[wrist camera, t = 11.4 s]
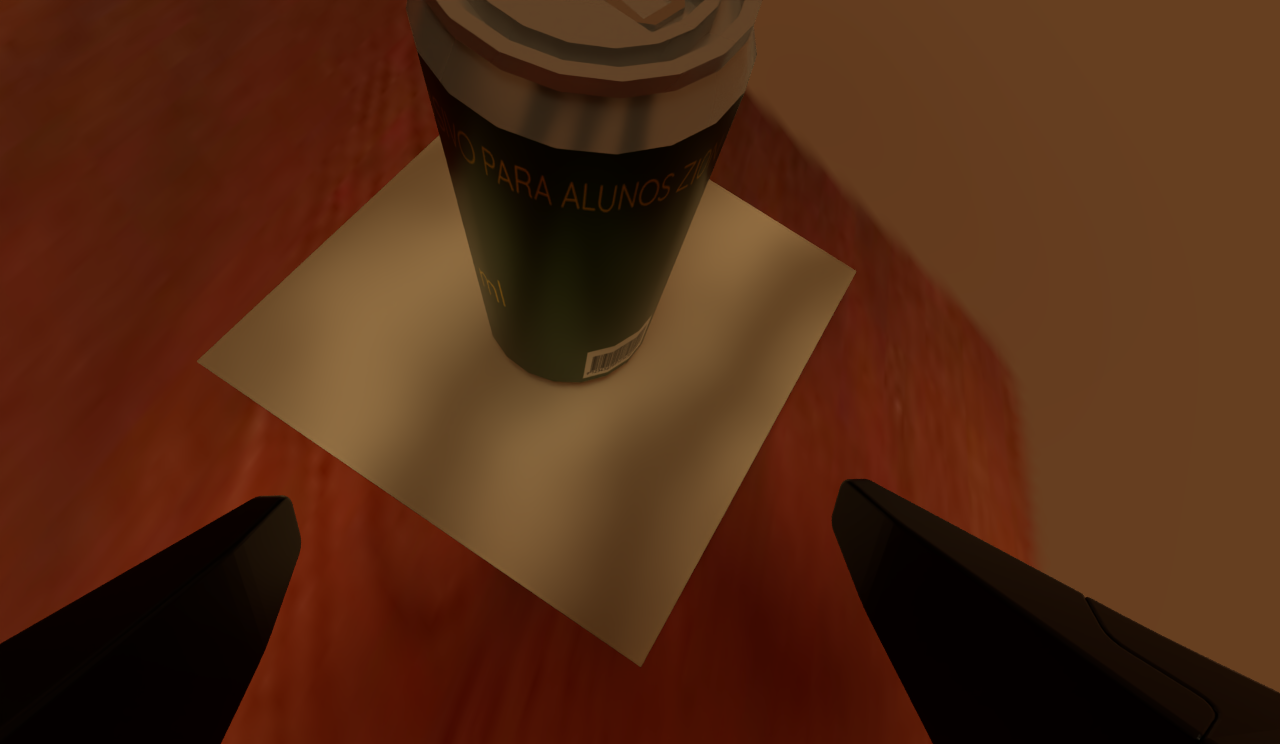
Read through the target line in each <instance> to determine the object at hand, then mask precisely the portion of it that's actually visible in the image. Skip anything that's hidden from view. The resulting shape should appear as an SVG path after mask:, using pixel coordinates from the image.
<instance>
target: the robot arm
mask: <svg viewBox="0 0 1280 744" xmlns="http://www.w3.org/2000/svg"><path fill="white" fill-rule="evenodd" d="M832 527H833V531H834V533H835V536H836V538H837V541H838V544H839V546H840V549H841V551H842V554H843V556H844V559H845V562H846V564H847V567H848V569H849V572H850V574H851V577H852V580H853V582H854V585H855V587H856V590H857V592H858V595H859V597H860V600H861V602H862V604H863V607H864V609H865V611H866V613H867V615H868V617H869V619H870V621H871V623H872V625H873V627H874V629H875V631H876V633H877V635H878V637H879V639H880V641H881V643H882V645H883V647H884V649H885V651H886V653H887V655H888V657H889V659H890V661H891V663H892V665H893V666H894V668H895V670H896V672H897V674H898V676H899V678H900V680H901V682H902V684H903V686H904V688H905V690H906V692H907V694H908V696H909V698H910V700H911V702H912V704H913V706H914V708H915V710H916V712H917V714H918V715H919V717H920V719H921V721H922V723H923V725H924V727H925V729H926V731H927V733H928V735H929V737H930V739H931V741H932V743H933V744H1280V693H1279V692H1277V691H1275V690H1273V689H1271V688H1268V687H1267V686H1265V685H1262V684H1260V683H1258V682H1256V681H1254V680H1252V679H1250V678H1248V677H1246V676H1244V675H1242V674H1240V673H1238V672H1235V671H1233V670H1231V669H1229V668H1227V667H1225V666H1223V665H1221V664H1219V663H1217V662H1215V661H1213V660H1211V659H1208V658H1207V657H1204V656H1202V655H1200V654H1198V653H1196V652H1194V651H1192V650H1190V649H1188V648H1186V647H1184V646H1182V645H1180V644H1178V643H1176V642H1174V641H1172V640H1170V639H1168V638H1166V637H1164V636H1162V635H1160V634H1158V633H1156V632H1154V631H1152V630H1150V629H1148V628H1146V627H1144V626H1142V625H1140V624H1138V623H1137V622H1135V621H1133V620H1131V619H1129V618H1127V617H1125V616H1123V615H1121V614H1119V613H1118V612H1115V611H1114V610H1112V609H1110V608H1108V607H1106V606H1104V605H1103V604H1101V603H1099V602H1097V601H1095V600H1093V599H1091V598H1089V597H1086V598H1085V597H1084V595H1083V594H1081V593H1080V592H1078V591H1076V590H1074V589H1072V588H1071V587H1069V586H1067V585H1065V584H1063V583H1061V582H1059V581H1057V580H1056V579H1054V578H1052V577H1050V576H1048V575H1046V574H1044V573H1042V572H1041V571H1039V570H1037V569H1035V568H1033V567H1031V566H1029V565H1027V564H1026V563H1024V562H1022V561H1020V560H1018V559H1016V558H1014V557H1012V556H1011V555H1009V554H1007V553H1005V552H1003V551H1001V550H999V549H998V548H996V547H994V546H992V545H990V544H988V543H986V542H984V541H983V540H981V539H979V538H977V537H975V536H973V535H971V534H969V533H968V532H966V531H964V530H962V529H960V528H958V527H956V526H954V525H953V524H951V523H949V522H947V521H945V520H943V519H941V518H939V517H938V516H936V515H934V514H932V513H930V512H928V511H926V510H925V509H923V508H921V507H919V506H917V505H915V504H913V503H911V502H910V501H908V500H906V499H904V498H902V497H900V496H898V495H896V494H895V493H893V492H891V491H889V490H887V489H885V488H883V487H881V486H880V485H878V484H876V483H874V482H872V481H870V480H868V479H847V480H845V481H844V482H843V483H842V484H841V486H840V489H839V493H838V496H837V500H836V504H835V507H834V511H833V514H832ZM300 548H301V537H300V532H299V528H298V524H297V520H296V516H295V512H294V508H293V504H292V502H291V500H290V499H289V498H288V497H286V496H283V495H281V496H258V497H255V498H253V499H251V500H250V501H248V502H246V503H244V504H243V505H241V506H239V507H237V508H236V509H234V510H232V511H230V512H229V513H227V514H225V515H223V516H222V517H220V518H218V519H217V520H215V521H213V522H211V523H210V524H208V525H206V526H204V527H203V528H201V529H199V530H197V531H196V532H194V533H192V534H190V535H189V536H187V537H185V538H184V539H182V540H180V541H178V542H177V543H175V544H173V545H171V546H170V547H168V548H166V549H164V550H163V551H161V552H159V553H157V554H156V555H154V556H152V557H150V558H149V559H147V560H145V561H144V562H142V563H140V564H138V565H137V566H135V567H133V568H131V569H130V570H128V571H126V572H124V573H123V574H121V575H119V576H117V577H116V578H114V579H112V580H110V581H109V582H107V583H105V584H104V585H102V586H100V587H98V588H97V589H95V590H93V591H91V592H90V593H88V594H86V595H84V596H83V597H81V598H79V599H77V600H76V601H74V602H72V603H70V604H69V605H67V606H65V607H63V608H62V609H60V610H58V611H57V612H55V613H53V614H51V615H50V616H48V617H46V618H44V619H43V620H41V621H39V622H37V623H36V624H34V625H32V626H30V627H29V628H27V629H25V630H23V631H22V632H20V633H18V634H17V635H15V636H13V637H11V638H10V639H8V640H6V641H4V642H3V643H1V644H0V744H221V742H222V740H223V738H224V736H225V734H226V732H227V730H228V728H229V726H230V724H231V721H232V719H233V717H234V715H235V713H236V711H237V709H238V707H239V705H240V703H241V700H242V698H243V696H244V694H245V692H246V690H247V688H248V686H249V684H250V682H251V680H252V677H253V675H254V673H255V671H256V669H257V667H258V665H259V662H260V660H261V658H262V656H263V654H264V651H265V649H266V646H267V644H268V641H269V638H270V636H271V633H272V630H273V627H274V625H275V622H276V619H277V616H278V613H279V610H280V607H281V605H282V602H283V599H284V596H285V593H286V590H287V587H288V585H289V582H290V579H291V576H292V573H293V570H294V567H295V565H296V562H297V559H298V556H299V553H300Z"/></svg>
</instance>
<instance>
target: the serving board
mask: <svg viewBox="0 0 1280 744" xmlns="http://www.w3.org/2000/svg"><path fill="white" fill-rule="evenodd" d="M855 273H856V271H855V270H854V269H852V268H850V267H849V266H847V265H846V264H844V263H842V262H841V261H839V260H838V259H836V258H834V257H833V256H831V255H830V254H828V253H826V252H825V251H823V250H822V249H820V248H818V247H817V246H815V245H813V244H812V243H810V242H809V241H807V240H805V239H804V238H802V237H801V236H799V235H797V234H796V233H794V232H793V231H791V230H789V229H788V228H786V227H785V226H783V225H781V224H780V223H778V222H777V221H775V220H773V219H772V218H770V217H769V216H767V215H765V214H764V213H762V212H761V211H759V210H757V209H756V208H754V207H752V206H751V205H749V204H748V203H746V202H744V201H743V200H741V199H740V198H738V197H736V196H735V195H733V194H732V193H730V192H728V191H727V190H725V189H724V188H722V187H720V186H719V185H717V184H716V183H714V182H712V181H711V180H708V183H707V185H706V188H705V190H704V193H703V195H702V198H701V200H700V203H699V205H698V207H697V210H696V212H695V215H694V217H693V220H692V222H691V225H690V227H689V229H688V232H687V234H686V237H685V239H684V242H683V244H682V247H681V249H680V252H679V254H678V256H677V259H676V261H675V264H674V266H673V269H672V271H671V274H670V276H669V278H668V281H667V283H666V286H665V288H664V291H663V293H662V296H661V298H660V301H659V303H658V305H657V308H656V310H655V313H654V315H653V318H652V320H651V323H650V325H649V327H648V330H647V332H646V335H645V337H644V340H643V342H642V344H641V345H640V347H639V348H638V349H637V350H636V352H635V353H634V354H633V355H632V357H631V358H630V359H629V360H628V362H627V363H625V364H624V365H622V366H620V367H619V368H617V369H616V370H614V371H613V372H611V373H610V374H608V375H606V376H603V377H600V378H596V379H592V380H588V381H585V382H581V383H580V382H554V381H551V380H548V379H545V378H542V377H539V376H537V375H534V374H531V373H528V372H527V371H525V370H524V369H523V368H521V367H520V366H519V365H517V364H516V363H515V362H513V361H512V360H511V359H509V358H508V357H507V356H506V354H505V353H504V352H503V350H502V349H501V347H500V346H499V344H498V343H497V341H496V340H495V339H494V337H493V335H492V331H491V327H490V324H489V320H488V316H487V313H486V309H485V305H484V301H483V298H482V294H481V290H480V286H479V282H478V279H477V275H476V271H475V267H474V264H473V260H472V256H471V252H470V248H469V245H468V241H467V237H466V233H465V230H464V226H463V222H462V218H461V215H460V211H459V207H458V203H457V199H456V196H455V192H454V188H453V184H452V181H451V177H450V173H449V169H448V165H447V162H446V158H445V154H444V150H443V147H442V143H441V139H440V135H439V136H438V137H437V138H436V139H435V140H434V141H433V142H432V143H431V144H429V145H428V146H427V147H426V148H425V149H424V150H423V151H422V152H421V153H420V154H419V155H418V156H417V157H415V158H414V159H413V160H412V161H411V162H410V163H409V164H408V165H407V166H406V167H405V168H404V169H403V170H402V171H400V172H399V173H398V174H397V175H396V176H395V177H394V178H393V179H392V180H391V181H390V182H389V183H388V184H387V185H385V186H384V187H383V188H382V189H381V190H380V191H379V192H378V193H377V194H376V195H375V196H374V197H373V198H372V199H370V200H369V201H368V202H367V203H366V204H365V205H364V206H363V207H362V208H361V209H360V210H359V211H358V212H356V213H355V214H354V215H353V216H352V217H351V218H350V219H349V220H348V221H347V222H346V223H345V224H344V225H343V226H341V227H340V228H339V229H338V230H337V231H336V232H335V233H334V234H333V235H332V236H331V237H330V238H329V239H328V240H326V241H325V242H324V243H323V244H322V245H321V246H320V247H319V248H318V249H317V250H316V251H315V252H314V253H312V254H311V255H310V256H309V257H308V258H307V259H306V260H305V261H304V262H303V263H302V264H301V265H300V266H299V267H297V268H296V269H295V270H294V271H293V272H292V273H291V274H290V275H289V276H288V277H287V278H286V279H285V280H284V281H282V282H281V283H280V284H279V285H278V286H277V287H276V288H275V289H274V290H273V291H272V292H271V293H270V294H269V295H267V296H266V297H265V298H264V299H263V300H262V301H261V302H260V303H259V304H258V305H257V306H256V307H255V308H253V309H252V310H251V311H250V312H249V313H248V314H247V315H246V316H245V317H244V318H243V319H242V320H241V321H240V322H238V323H237V324H236V325H235V326H234V327H233V328H232V329H231V330H230V331H229V332H228V333H227V334H226V335H225V336H223V337H222V338H221V339H220V340H219V341H218V342H217V343H216V344H215V345H214V346H213V347H212V348H211V349H210V350H208V351H207V352H206V353H205V354H204V355H203V356H202V357H201V358H200V359H199V360H198V361H197V362H198V363H200V364H201V365H203V366H204V367H205V368H207V369H208V370H210V371H211V372H213V373H214V374H216V375H217V376H219V377H220V378H221V379H223V380H224V381H226V382H227V383H229V384H230V385H232V386H233V387H235V388H236V389H237V390H239V391H240V392H242V393H243V394H245V395H246V396H248V397H249V398H251V399H252V400H253V401H255V402H256V403H258V404H259V405H261V406H262V407H264V408H265V409H266V410H268V411H269V412H271V413H272V414H274V415H275V416H277V417H278V418H280V419H281V420H282V421H284V422H285V423H287V424H288V425H290V426H291V427H293V428H294V429H296V430H297V431H298V432H300V433H301V434H303V435H304V436H306V437H307V438H309V439H310V440H312V441H313V442H314V443H316V444H317V445H319V446H320V447H322V448H323V449H325V450H326V451H327V452H329V453H330V454H332V455H333V456H335V457H336V458H338V459H339V460H341V461H342V462H343V463H345V464H346V465H348V466H349V467H351V468H352V469H354V470H355V471H357V472H358V473H359V474H361V475H362V476H364V477H365V478H367V479H368V480H370V481H371V482H373V483H374V484H375V485H377V486H378V487H380V488H381V489H383V490H384V491H386V492H387V493H388V494H390V495H391V496H393V497H394V498H396V499H397V500H399V501H400V502H402V503H403V504H404V505H406V506H407V507H409V508H410V509H412V510H413V511H415V512H416V513H418V514H419V515H420V516H422V517H423V518H425V519H426V520H428V521H429V522H431V523H432V524H434V525H435V526H436V527H438V528H439V529H441V530H442V531H444V532H445V533H447V534H448V535H449V536H451V537H452V538H454V539H455V540H457V541H458V542H460V543H461V544H463V545H464V546H465V547H467V548H468V549H470V550H471V551H473V552H474V553H476V554H477V555H479V556H480V557H481V558H483V559H484V560H486V561H487V562H489V563H490V564H492V565H493V566H495V567H496V568H497V569H499V570H500V571H502V572H503V573H505V574H506V575H508V576H509V577H510V578H512V579H513V580H515V581H516V582H518V583H519V584H521V585H522V586H524V587H525V588H526V589H528V590H529V591H531V592H532V593H534V594H535V595H537V596H538V597H540V598H541V599H542V600H544V601H545V602H547V603H548V604H550V605H551V606H553V607H554V608H556V609H557V610H558V611H560V612H561V613H563V614H564V615H566V616H567V617H569V618H570V619H571V620H573V621H574V622H576V623H577V624H579V625H580V626H582V627H583V628H585V629H586V630H587V631H589V632H590V633H592V634H593V635H595V636H596V637H598V638H599V639H601V640H602V641H603V642H605V643H606V644H608V645H609V646H611V647H612V648H614V649H615V650H617V651H618V652H619V653H621V654H622V655H624V656H625V657H627V658H628V659H630V660H631V661H632V662H634V663H635V664H637V665H638V666H640V667H641V666H642V664H643V662H644V661H645V659H646V657H647V655H648V653H649V651H650V650H651V648H652V646H653V644H654V642H655V640H656V639H657V637H658V635H659V633H660V631H661V629H662V628H663V626H664V624H665V622H666V620H667V618H668V616H669V615H670V613H671V611H672V609H673V607H674V605H675V604H676V602H677V600H678V598H679V596H680V594H681V593H682V591H683V589H684V587H685V585H686V583H687V582H688V580H689V578H690V576H691V574H692V572H693V571H694V569H695V567H696V565H697V563H698V561H699V560H700V558H701V556H702V554H703V552H704V550H705V549H706V547H707V545H708V543H709V541H710V539H711V537H712V536H713V534H714V532H715V530H716V528H717V526H718V525H719V523H720V521H721V519H722V517H723V515H724V514H725V512H726V510H727V508H728V506H729V504H730V503H731V501H732V499H733V497H734V495H735V493H736V492H737V490H738V488H739V486H740V484H741V482H742V481H743V479H744V477H745V475H746V473H747V471H748V470H749V468H750V466H751V464H752V462H753V460H754V458H755V457H756V455H757V453H758V451H759V449H760V447H761V446H762V444H763V442H764V440H765V438H766V436H767V435H768V433H769V431H770V429H771V427H772V425H773V424H774V422H775V420H776V418H777V416H778V414H779V413H780V411H781V409H782V407H783V405H784V403H785V402H786V400H787V398H788V396H789V394H790V392H791V391H792V389H793V387H794V385H795V383H796V381H797V379H798V378H799V376H800V374H801V372H802V370H803V368H804V367H805V365H806V363H807V361H808V359H809V357H810V356H811V354H812V352H813V350H814V348H815V346H816V345H817V343H818V341H819V339H820V337H821V335H822V334H823V332H824V330H825V328H826V326H827V324H828V323H829V321H830V319H831V317H832V315H833V313H834V312H835V310H836V308H837V306H838V304H839V302H840V301H841V299H842V297H843V295H844V293H845V291H846V289H847V288H848V286H849V284H850V282H851V280H852V278H853V277H854V275H855Z"/></svg>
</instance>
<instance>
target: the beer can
mask: <svg viewBox="0 0 1280 744" xmlns="http://www.w3.org/2000/svg"><path fill="white" fill-rule="evenodd" d="M761 2H762V0H407V5H406V11H407V15H408V18H409V22H410V26H411V30H412V33H413V37H414V41H415V45H416V49H417V52H418V56H419V60H420V64H421V67H422V71H423V75H424V79H425V82H426V86H427V90H428V94H429V98H430V101H431V105H432V109H433V113H434V116H435V120H436V124H437V128H438V132H439V135H440V139H441V143H442V147H443V150H444V154H445V158H446V162H447V165H448V169H449V173H450V177H451V181H452V184H453V188H454V192H455V196H456V199H457V203H458V207H459V211H460V215H461V218H462V222H463V226H464V230H465V233H466V237H467V241H468V245H469V248H470V252H471V256H472V260H473V264H474V267H475V271H476V275H477V279H478V282H479V286H480V290H481V294H482V298H483V301H484V305H485V309H486V313H487V316H488V320H489V324H490V327H491V331H492V335H493V337H494V339H495V340H496V341H497V343H498V344H499V346H500V347H501V349H502V350H503V352H504V353H505V354H506V356H507V357H508V358H509V359H511V360H512V361H513V362H515V363H516V364H517V365H519V366H520V367H521V368H523V369H524V370H525V371H527V372H528V373H531V374H534V375H537V376H539V377H542V378H545V379H548V380H551V381H554V382H580V383H581V382H585V381H588V380H592V379H596V378H600V377H603V376H606V375H608V374H610V373H611V372H613V371H614V370H616V369H617V368H619V367H620V366H622V365H624V364H625V363H627V362H628V360H629V359H630V358H631V357H632V355H633V354H634V353H635V352H636V350H637V349H638V348H639V347H640V345H641V344H642V342H643V340H644V337H645V335H646V332H647V330H648V327H649V325H650V323H651V320H652V318H653V315H654V313H655V310H656V308H657V305H658V303H659V301H660V298H661V296H662V293H663V291H664V288H665V286H666V283H667V281H668V278H669V276H670V274H671V271H672V269H673V266H674V264H675V261H676V259H677V256H678V254H679V252H680V249H681V247H682V244H683V242H684V239H685V237H686V234H687V232H688V229H689V227H690V225H691V222H692V220H693V217H694V215H695V212H696V210H697V207H698V205H699V203H700V200H701V198H702V195H703V193H704V190H705V188H706V185H707V183H708V180H709V178H710V176H711V173H712V171H713V168H714V166H715V163H716V161H717V158H718V156H719V154H720V151H721V149H722V146H723V144H724V141H725V139H726V136H727V134H728V131H729V129H730V127H731V124H732V122H733V119H734V117H735V114H736V112H737V109H738V107H739V105H740V102H741V100H742V97H743V95H744V92H745V89H746V86H747V83H748V80H749V77H750V74H751V71H752V68H753V65H754V62H755V58H756V55H757V53H756V43H755V35H754V23H755V20H756V17H757V14H758V11H759V8H760V5H761Z"/></svg>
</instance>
